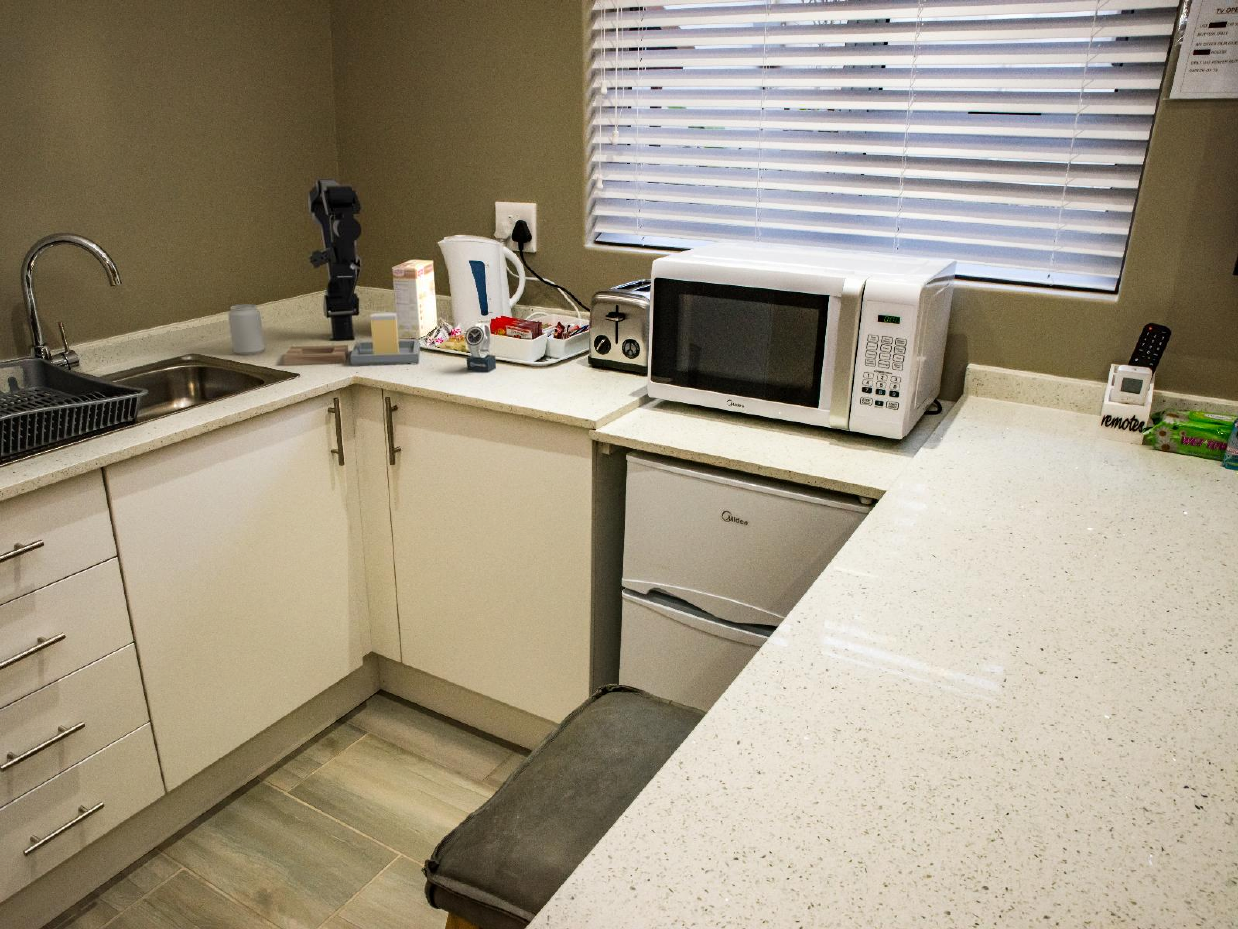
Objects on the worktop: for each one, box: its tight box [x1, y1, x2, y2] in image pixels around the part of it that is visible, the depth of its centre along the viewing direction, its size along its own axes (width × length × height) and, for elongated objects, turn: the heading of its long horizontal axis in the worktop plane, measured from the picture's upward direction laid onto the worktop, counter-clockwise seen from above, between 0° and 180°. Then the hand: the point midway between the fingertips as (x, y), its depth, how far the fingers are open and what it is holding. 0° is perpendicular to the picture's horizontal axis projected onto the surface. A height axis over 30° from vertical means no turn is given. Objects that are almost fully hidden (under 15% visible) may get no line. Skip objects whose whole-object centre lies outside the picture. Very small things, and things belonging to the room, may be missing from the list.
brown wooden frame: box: [283, 344, 350, 367], centre depth 231 cm, size 12×14×2 cm
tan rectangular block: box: [369, 312, 399, 354], centre depth 232 cm, size 4×6×10 cm, turn 100°
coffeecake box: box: [391, 259, 438, 340], centre depth 257 cm, size 15×7×20 cm, turn 172°
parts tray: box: [350, 339, 421, 367], centre depth 233 cm, size 16×16×2 cm
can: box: [228, 304, 265, 356], centre depth 236 cm, size 8×8×12 cm
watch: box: [464, 322, 497, 373], centre depth 221 cm, size 6×8×11 cm
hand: (349, 299), depth 237 cm, fingers open, 9 cm apart
